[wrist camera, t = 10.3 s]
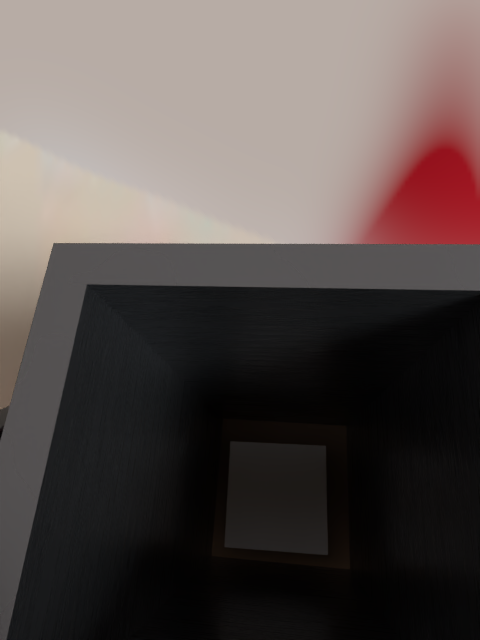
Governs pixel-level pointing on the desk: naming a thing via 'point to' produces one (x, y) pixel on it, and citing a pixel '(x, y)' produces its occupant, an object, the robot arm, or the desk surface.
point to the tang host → (283, 493)
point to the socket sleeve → (242, 404)
